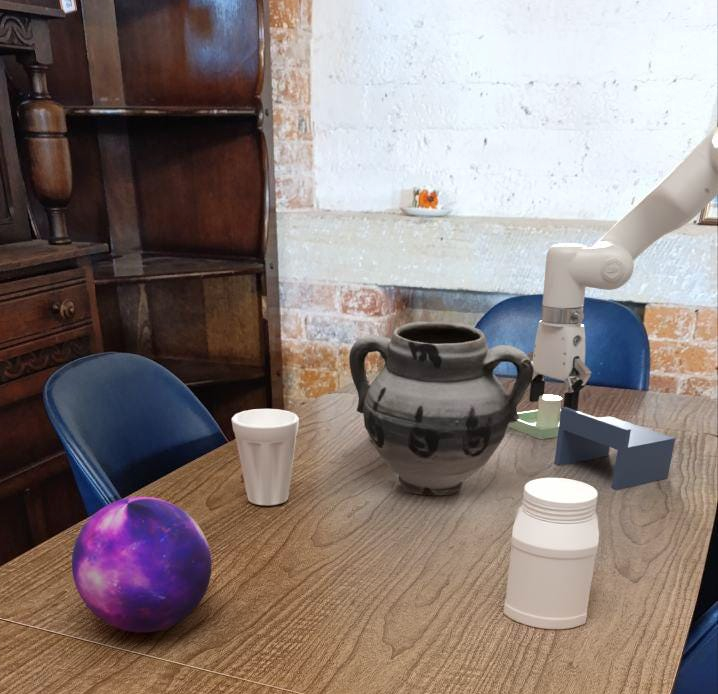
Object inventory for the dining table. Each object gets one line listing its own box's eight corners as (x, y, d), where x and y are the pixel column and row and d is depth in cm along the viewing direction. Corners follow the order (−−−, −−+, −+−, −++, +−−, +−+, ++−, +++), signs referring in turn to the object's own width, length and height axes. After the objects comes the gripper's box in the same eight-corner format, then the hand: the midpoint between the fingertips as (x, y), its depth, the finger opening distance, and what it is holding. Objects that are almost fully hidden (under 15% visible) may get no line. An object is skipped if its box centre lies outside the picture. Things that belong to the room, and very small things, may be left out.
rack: (603, 453, 160) (612, 399, 155) (667, 478, 148) (679, 420, 144) (554, 463, 154) (561, 407, 149) (616, 490, 143) (626, 430, 138)
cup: (300, 512, 132) (299, 427, 126) (233, 512, 131) (229, 427, 125) (300, 488, 141) (298, 408, 134) (237, 489, 140) (233, 408, 134)
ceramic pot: (530, 475, 148) (548, 322, 136) (506, 524, 129) (525, 351, 117) (369, 455, 156) (372, 309, 144) (324, 498, 137) (323, 334, 125)
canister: (548, 421, 176) (551, 393, 174) (563, 426, 173) (566, 398, 170) (531, 423, 174) (534, 396, 172) (546, 429, 171) (549, 401, 168)
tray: (553, 416, 181) (554, 406, 180) (591, 430, 173) (593, 420, 172) (503, 424, 175) (504, 415, 174) (540, 439, 166) (542, 429, 166)
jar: (508, 581, 112) (521, 469, 105) (585, 590, 110) (603, 477, 103) (501, 624, 102) (514, 503, 95) (585, 634, 100) (605, 512, 93)
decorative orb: (62, 614, 102) (43, 493, 95) (181, 583, 110) (171, 469, 103) (110, 672, 91) (92, 540, 84) (238, 633, 99) (231, 509, 92)
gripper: (610, 320, 159) (598, 413, 167) (545, 307, 172) (537, 394, 180) (579, 324, 155) (569, 419, 163) (516, 310, 169) (509, 399, 177)
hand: (552, 406), depth 172 cm, fingers open, 9 cm apart
